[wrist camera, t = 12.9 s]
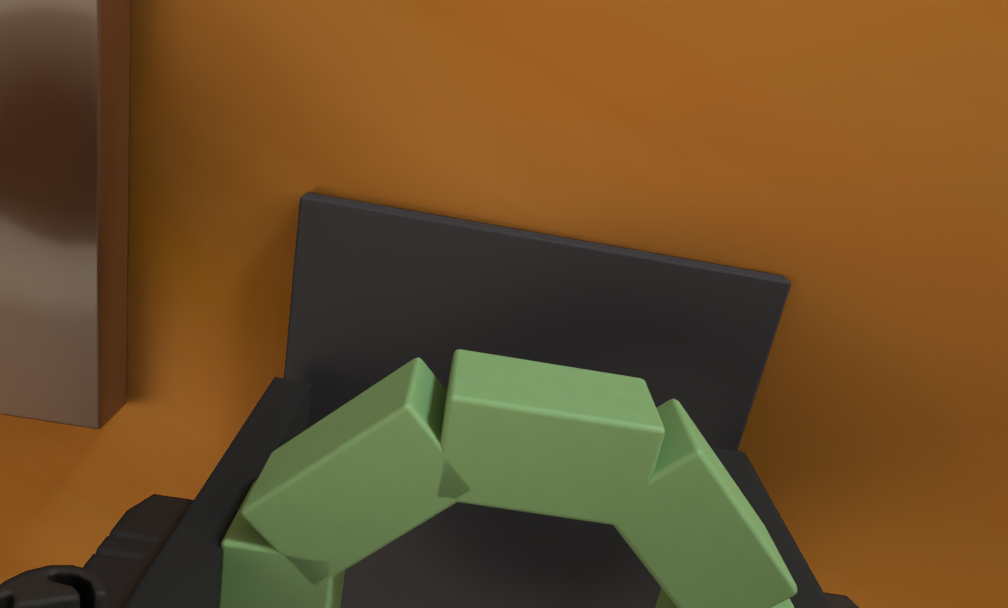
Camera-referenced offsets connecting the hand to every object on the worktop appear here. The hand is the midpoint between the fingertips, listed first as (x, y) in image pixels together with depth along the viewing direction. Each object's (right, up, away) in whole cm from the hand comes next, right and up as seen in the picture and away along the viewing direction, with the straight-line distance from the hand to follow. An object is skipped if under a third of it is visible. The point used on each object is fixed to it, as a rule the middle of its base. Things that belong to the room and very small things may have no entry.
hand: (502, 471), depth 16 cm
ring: (0, -1, -3) cm, 4 cm away
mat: (0, 0, +1) cm, 1 cm away
